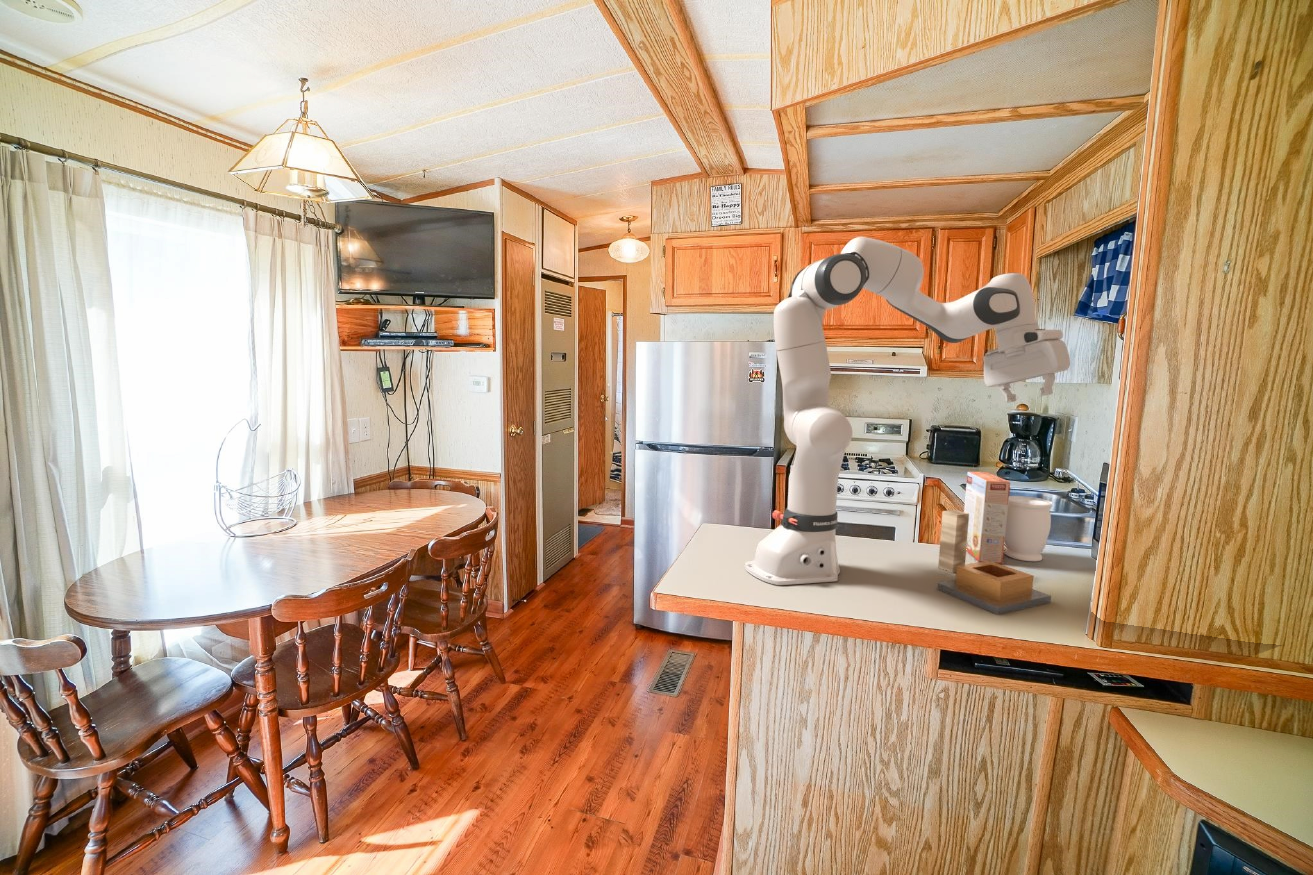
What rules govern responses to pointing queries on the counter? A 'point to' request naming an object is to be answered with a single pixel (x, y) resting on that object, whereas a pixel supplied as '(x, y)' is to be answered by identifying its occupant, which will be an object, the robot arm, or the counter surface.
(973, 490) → the cracker box
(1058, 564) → the counter surface
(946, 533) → the wedge pin
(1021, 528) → the jar
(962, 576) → the socket base
